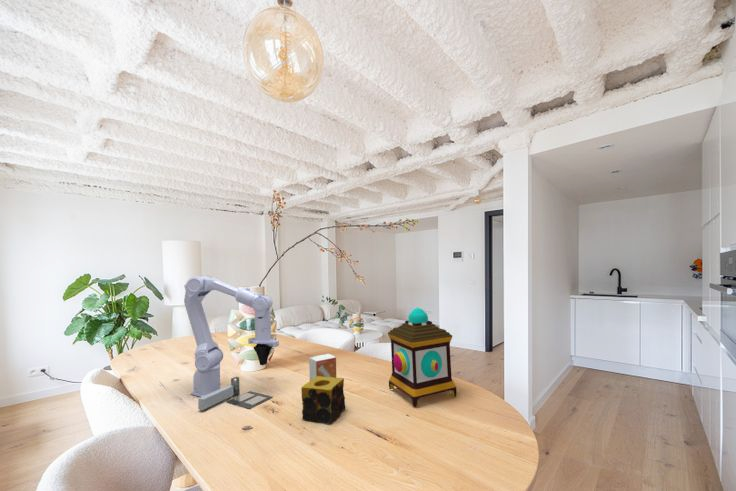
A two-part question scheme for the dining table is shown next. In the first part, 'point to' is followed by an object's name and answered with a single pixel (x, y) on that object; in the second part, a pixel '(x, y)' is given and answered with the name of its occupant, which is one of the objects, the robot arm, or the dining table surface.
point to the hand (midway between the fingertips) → (263, 364)
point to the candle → (323, 399)
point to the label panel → (249, 399)
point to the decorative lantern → (421, 358)
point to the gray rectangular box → (215, 397)
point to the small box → (322, 366)
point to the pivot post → (235, 386)
